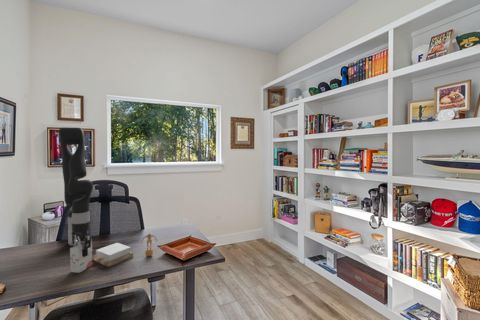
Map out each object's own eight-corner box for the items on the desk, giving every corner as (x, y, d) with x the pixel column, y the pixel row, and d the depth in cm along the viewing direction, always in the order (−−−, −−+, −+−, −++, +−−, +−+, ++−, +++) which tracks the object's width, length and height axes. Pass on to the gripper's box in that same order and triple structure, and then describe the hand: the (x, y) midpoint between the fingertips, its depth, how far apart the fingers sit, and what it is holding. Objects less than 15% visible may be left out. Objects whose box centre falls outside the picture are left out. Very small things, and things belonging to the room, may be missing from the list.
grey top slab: (96, 255, 132) (96, 250, 131) (117, 247, 142) (117, 242, 142) (109, 261, 126) (109, 255, 125) (130, 252, 136) (130, 247, 136)
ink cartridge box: (84, 264, 127) (84, 235, 126) (92, 265, 126) (92, 236, 125) (69, 272, 118) (69, 242, 118) (78, 273, 117) (78, 242, 117)
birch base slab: (93, 261, 132) (93, 255, 131) (117, 251, 144) (117, 246, 143) (108, 268, 124) (108, 262, 124) (133, 257, 136) (133, 252, 136)
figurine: (140, 258, 134) (140, 236, 133) (141, 253, 140) (141, 232, 139) (157, 256, 137) (157, 235, 136) (157, 252, 142) (157, 231, 142)
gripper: (65, 220, 121) (65, 253, 122) (80, 225, 114) (80, 261, 115) (81, 216, 128) (82, 248, 129) (96, 221, 120) (97, 255, 121)
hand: (81, 254), depth 122 cm, fingers closed on ink cartridge box, 6 cm apart
